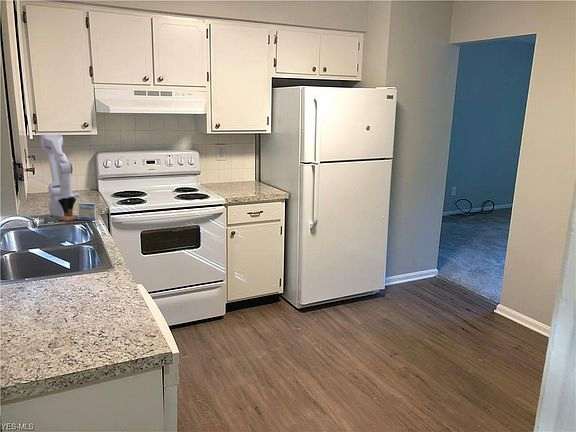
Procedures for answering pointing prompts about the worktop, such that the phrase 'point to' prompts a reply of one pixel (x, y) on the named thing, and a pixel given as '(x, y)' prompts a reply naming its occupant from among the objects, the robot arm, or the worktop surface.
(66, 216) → the lid
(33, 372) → the worktop surface
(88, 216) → the medicine box
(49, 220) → the storage box
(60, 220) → the rubber mat
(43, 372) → the worktop surface
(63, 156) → the robot arm
